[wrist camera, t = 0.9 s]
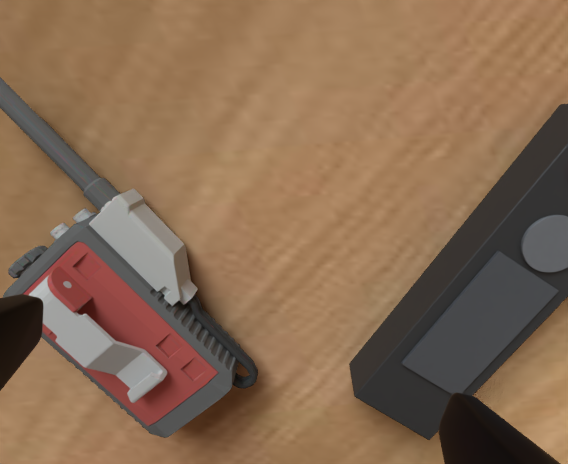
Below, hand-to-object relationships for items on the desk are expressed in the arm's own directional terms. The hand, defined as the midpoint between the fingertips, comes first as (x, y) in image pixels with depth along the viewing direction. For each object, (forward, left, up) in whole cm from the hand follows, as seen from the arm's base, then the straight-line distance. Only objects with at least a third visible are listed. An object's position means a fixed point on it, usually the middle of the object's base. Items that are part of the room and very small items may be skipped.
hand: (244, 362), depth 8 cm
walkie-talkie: (0, +10, -13) cm, 16 cm away
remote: (-6, -9, -13) cm, 17 cm away
